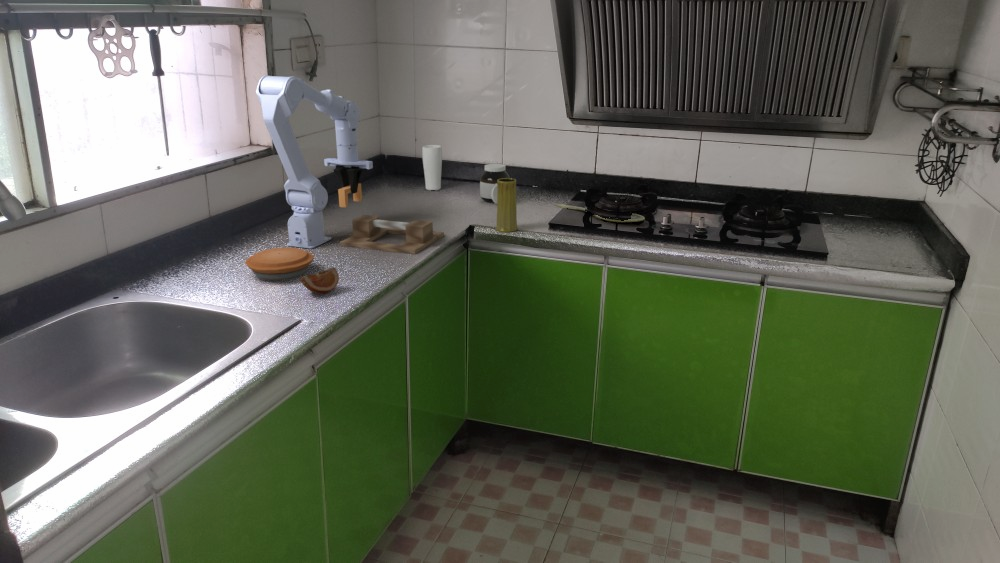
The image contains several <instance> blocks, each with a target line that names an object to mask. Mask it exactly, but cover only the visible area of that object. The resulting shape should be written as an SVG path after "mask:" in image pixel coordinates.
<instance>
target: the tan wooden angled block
mask: <svg viewBox="0 0 1000 563" xmlns="http://www.w3.org/2000/svg"><path fill="white" fill-rule="evenodd" d="M337 192H338V203H339V204H338V205H339V208H348V207H349V194H352V193H351V188H350V184H349V186H346V187H343V188H342V187H341V188H339V189H337ZM362 192H363V191H362V183H360V182H359V184H358V189H357V192H356V193H354V194H352V195H353V196H352V198H353V202H362V201H363V193H362Z"/></svg>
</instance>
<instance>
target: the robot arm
mask: <svg viewBox="0 0 1000 563" xmlns="http://www.w3.org/2000/svg"><path fill="white" fill-rule="evenodd" d="M255 94H256V97H257V99H258V101H259V103H260V106H261V111H262V119H263V122H264V124H265V126H266V129H267V131H268V133H269V136H270V138H271V141H272V143H273V145H274V147H275V150H276V152H277V155H278V157H279V159H280V162H281V164H282V166H283V169H284V171H285V173H286V176H287V178H288V179H287V180H286V181H285V183H284V185H283V188H284V192H285V200H286V203H287V204H288V205H289V206H291V210H292V211H293V214H292V215H291V216H290V217H289V218H288V219H287V220H288V221H287V232H288V242H287V243H286V246H288V247H293V248H302V249H303V248H304V249H314V248H316V247H319V246H320V245H322V244H324V243H327V242H329V241H330V240H332V237H330V236H325V227H324V216H323V215H324V214H323V210H324V211H325V208H326V206H327V204H328V201H329V198H328V197H329V195H328V191H327V189H326V188H325V187H324V186H323V185H322V183H321V180H320V179H318V178H317V177H316V176H314V175H313V174H312V173H310V170H309V168H308V166H307V163H306V160H305V158H304V156H303V153H302V151H301V148H300V145H299V143H298V140H297V138H296V134H295V132H294V131H293V127H292V126H291V123H290V121H289V119H290V117H291V116H293V115H294V113H295V111H296V110H297V107H298V106H299V103H300V102H301V101H302V100H305V101H307V102H309V103H312V104H314V107H315V109H316V110H317V111H318V112H321V113H323V114H325V115H326V116H329V117H330V119H331V120H332V121H333V122H334V128H335V142H336V143H335V144H336V155H337V158H333V157H328V158H324V159H323V162H324V166H325V167H335V168H333V173H334V174H335V176H336V177H337V179H338V181H339V183H340V186H341V188H343V187H346V186H349V185H350V188H351V193H350V194H352V195H353V194H354V193H356V192H357V189H358V184H359V183H360V179H361V177H362V174H363V172H364V170H365V169H366V170H371V169H374V166H373V164H374V162H373V161H372V160H366V159H365V160H364V159H359V148H358V147H359V146H358V136H357V132H358V131H357V128H358V127H359V118H360V115H361V110H360V108H359V106H358V104H357V103H356V102H355V101H352V100H346V99H344V96H342V95H336V94H335V93H334V90H332V89H324V90H321V91H320V90H318V89H317V88H315V87H313V86H312V85H310V84H308V83H307V82H305V81H304V79H302V78H299V77H297V76H278V75H277V76H274V75H273V76H272V75H267V74H265V75H262V76H261V77H260V79H259V80H258V83H257V86H256V90H255Z"/></svg>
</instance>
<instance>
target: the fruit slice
mask: <svg viewBox="0 0 1000 563" xmlns="http://www.w3.org/2000/svg"><path fill="white" fill-rule="evenodd" d="M339 280H340V276H339V273H338V271H337V268H336V267H332V268H327V269H324V270H320V271H317V272H316V273H311V274H307V275H302V276H301V278H300V282H301V284H302V285H303V286H304V287H305V288H306V289H307V290H309V292H311V293H314V294H319V295H325V294H328V293H330V292H333V291H334V289H335V288H336V287H337V285H338V284H339Z"/></svg>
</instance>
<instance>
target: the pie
mask: <svg viewBox="0 0 1000 563" xmlns="http://www.w3.org/2000/svg"><path fill="white" fill-rule="evenodd" d="M313 261H314V255H313V253H312V252H309V251H307V250H304V249H303V248H299V247H276V248H275V247H274V248H269V249H264V250H261V251H258V252H255V254H253V255H251V256H250V257H248V258H247V259H246V260H245V262H244V264H245V265H246V266H247V267H248V268H249V269H250V270H251V271H252V272H253V273H254V274H255V277H257V278H258V279H260V280H262V279H263V280H262V281H267V280H269V282H281V281H282V280H283V281H290V280H294V279H297V278H300V277H303V276H305V274H306V273H307V271H308V269H309V267H310V265H311V263H312V262H313Z"/></svg>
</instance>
